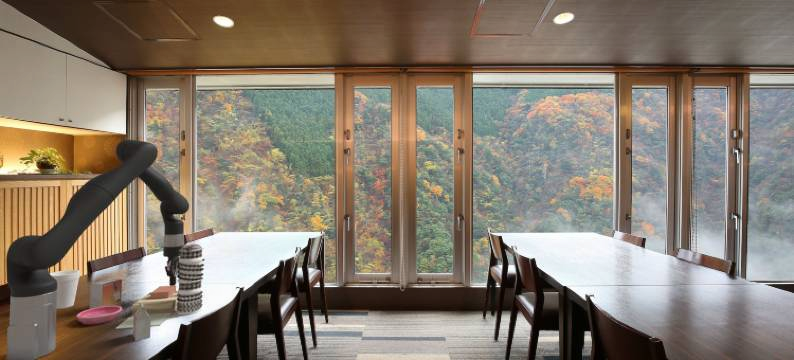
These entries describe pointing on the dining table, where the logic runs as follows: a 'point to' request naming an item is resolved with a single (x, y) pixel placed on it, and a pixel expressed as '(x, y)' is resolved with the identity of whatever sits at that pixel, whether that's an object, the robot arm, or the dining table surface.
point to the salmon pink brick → (163, 292)
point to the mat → (155, 318)
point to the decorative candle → (190, 280)
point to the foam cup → (66, 287)
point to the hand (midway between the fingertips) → (172, 285)
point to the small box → (106, 293)
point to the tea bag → (141, 323)
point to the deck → (157, 304)
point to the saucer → (99, 315)
